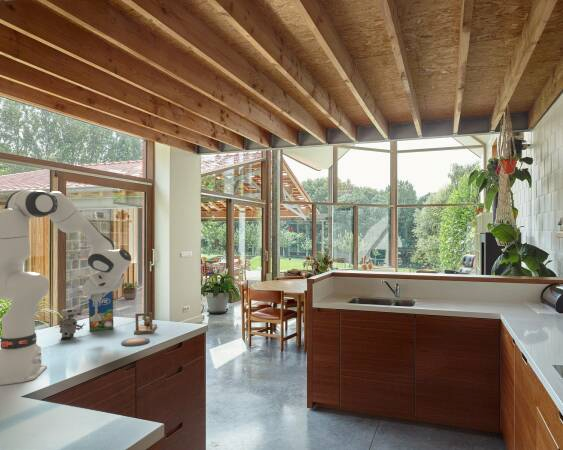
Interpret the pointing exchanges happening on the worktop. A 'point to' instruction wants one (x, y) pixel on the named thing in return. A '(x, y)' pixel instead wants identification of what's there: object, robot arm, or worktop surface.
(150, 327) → the toy catapult
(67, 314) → the figurine
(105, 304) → the blue food package
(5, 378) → the robot arm
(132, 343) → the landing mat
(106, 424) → the worktop surface
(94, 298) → the chalice
